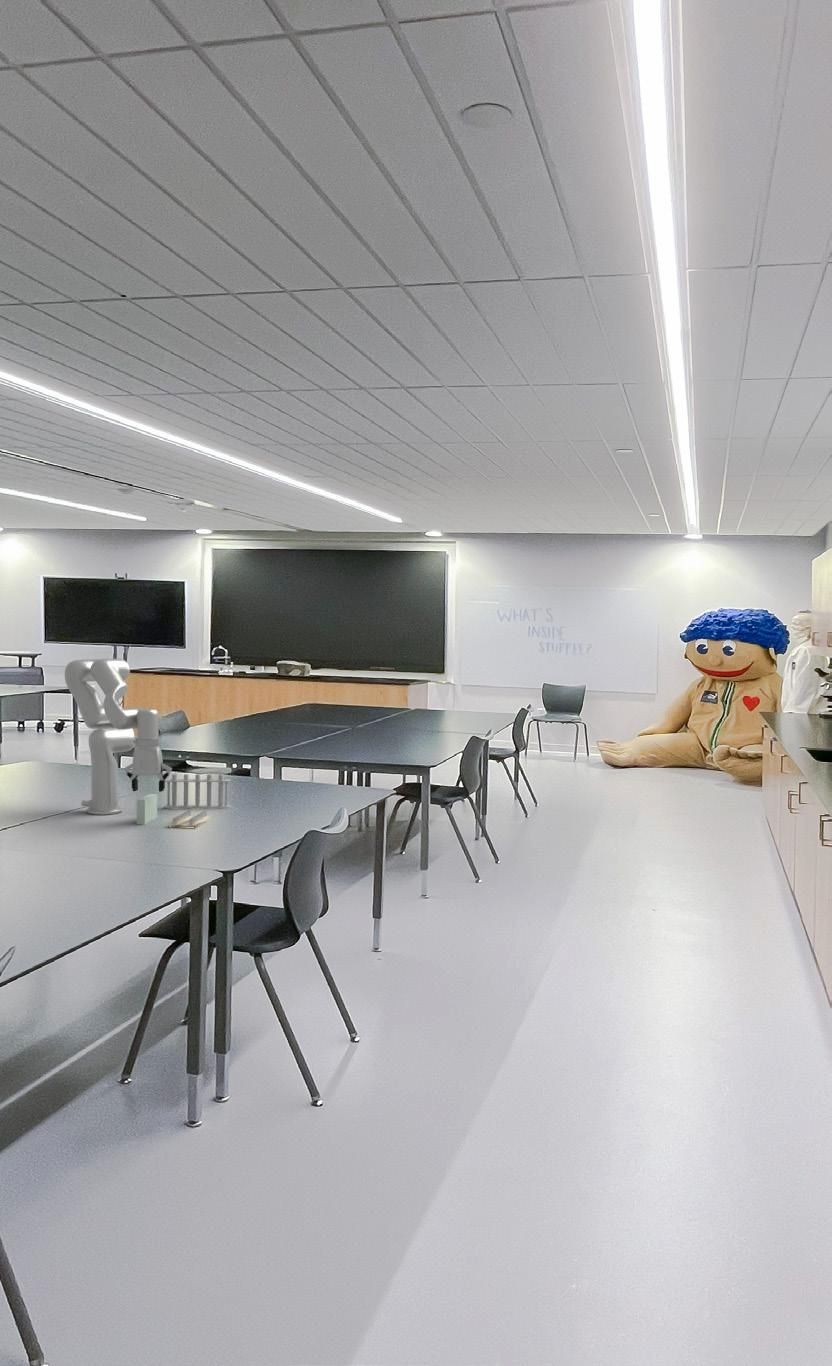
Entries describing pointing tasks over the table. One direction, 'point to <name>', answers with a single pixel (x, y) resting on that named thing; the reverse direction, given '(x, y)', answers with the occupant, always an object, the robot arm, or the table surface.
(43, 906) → the table surface
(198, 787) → the test tube rack
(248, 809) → the table surface
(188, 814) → the bottom track
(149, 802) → the door panel
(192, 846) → the table surface
